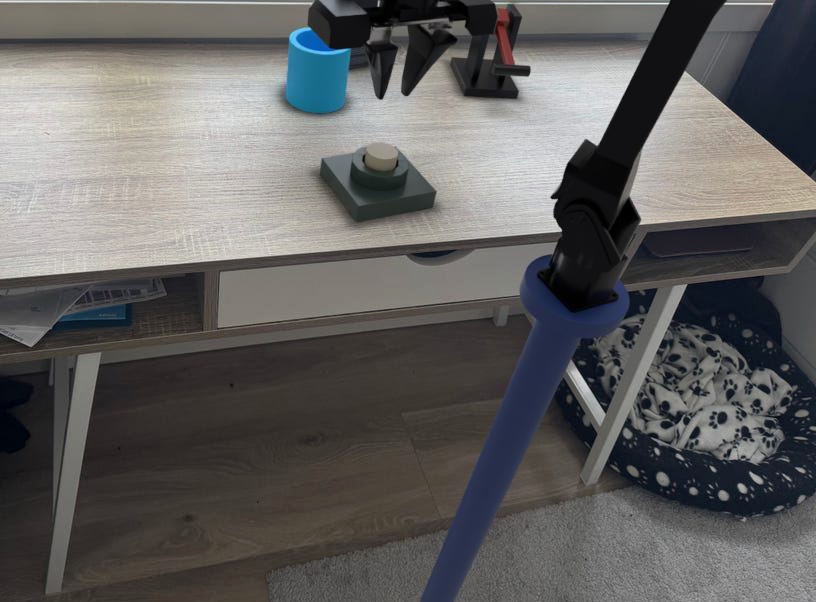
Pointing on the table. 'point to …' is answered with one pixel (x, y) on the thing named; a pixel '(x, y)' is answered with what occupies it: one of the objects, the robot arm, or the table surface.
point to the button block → (376, 186)
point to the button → (381, 156)
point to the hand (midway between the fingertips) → (391, 96)
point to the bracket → (487, 65)
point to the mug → (315, 73)
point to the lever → (506, 50)
